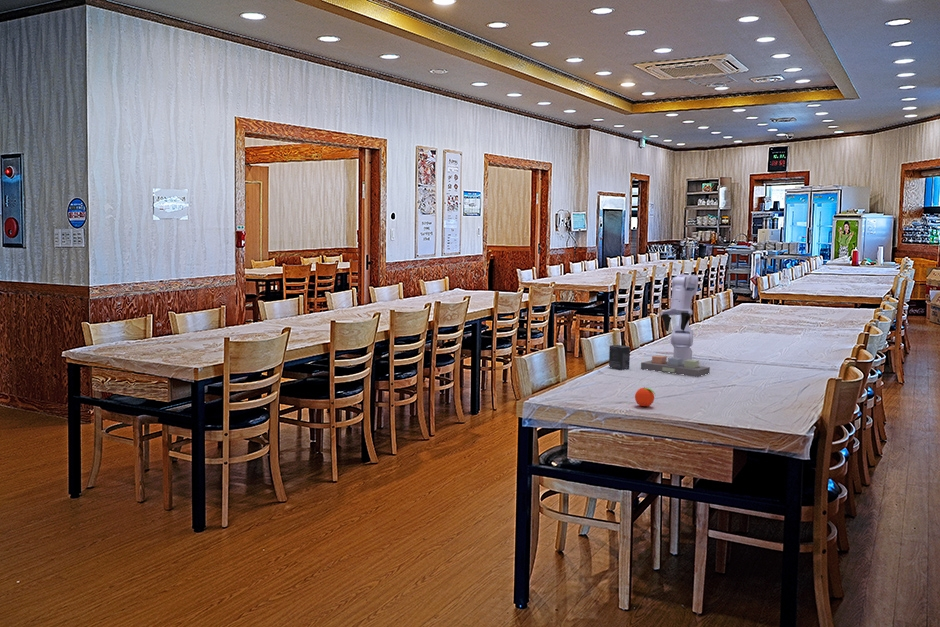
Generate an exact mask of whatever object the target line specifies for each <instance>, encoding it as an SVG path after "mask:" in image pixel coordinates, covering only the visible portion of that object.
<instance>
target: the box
mask: <svg viewBox="0 0 940 627" xmlns="http://www.w3.org/2000/svg"><path fill="white" fill-rule="evenodd" d="M608 350H609V353H608V354H609V355H608V367H609V366H610V367H612V368H611V369H614V368H616V369H615V370H620V369H621V371H623V370H622V369H626V370H630V362H631V360H630V357H631V346H629V345H628V346H627V345H620V344H611V345H609V349H608Z"/></svg>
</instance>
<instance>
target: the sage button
mask: <svg viewBox="0 0 940 627" xmlns="http://www.w3.org/2000/svg"><path fill="white" fill-rule="evenodd" d="M699 366H700V360H697V359H692V360H691V359H688V360H684V367H686V368H693V369H696V368H699Z"/></svg>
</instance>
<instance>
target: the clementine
mask: <svg viewBox="0 0 940 627" xmlns="http://www.w3.org/2000/svg"><path fill="white" fill-rule="evenodd" d="M655 397H656V393H655V391H654V390H653V389H651V388H649V387H645V386H644V387H639V389H638V390H637V391H636V392H635V393H634V399H635V402H636V403H637V405H638V406H640V407H642V406H647V407H649V406H651V405H652V404H653V403H654V401H655Z"/></svg>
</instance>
